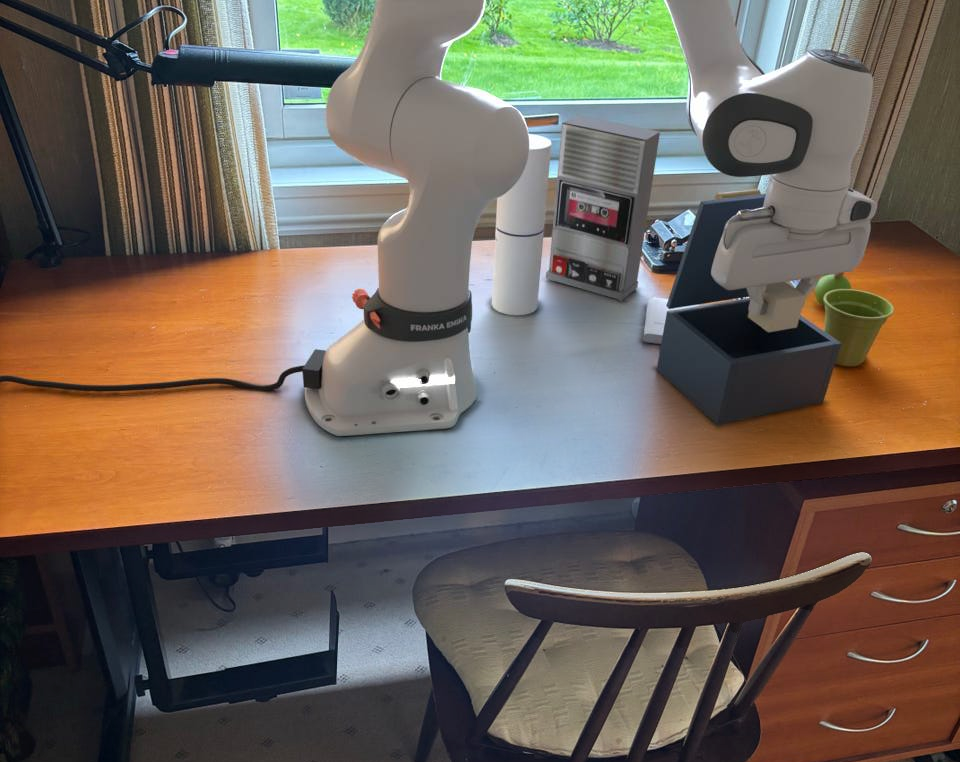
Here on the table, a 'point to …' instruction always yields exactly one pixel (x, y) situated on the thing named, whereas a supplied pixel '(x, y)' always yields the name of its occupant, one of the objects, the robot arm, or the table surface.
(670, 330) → the chest
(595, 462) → the table surface
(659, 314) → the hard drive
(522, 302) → the cylindrical container
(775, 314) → the block
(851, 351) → the plant pot
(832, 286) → the green maraca
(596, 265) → the cassette tape recorder
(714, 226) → the lid
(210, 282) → the table surface
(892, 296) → the table surface
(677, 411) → the table surface
